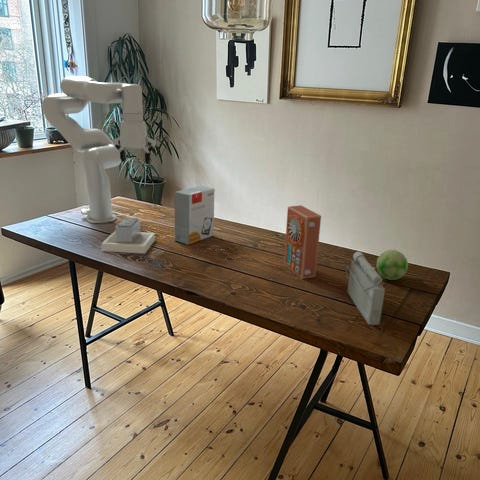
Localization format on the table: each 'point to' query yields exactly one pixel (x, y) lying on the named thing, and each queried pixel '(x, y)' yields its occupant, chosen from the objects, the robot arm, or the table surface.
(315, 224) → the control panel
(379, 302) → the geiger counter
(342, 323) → the table surface
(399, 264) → the decorative ball
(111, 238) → the white shallow square tray
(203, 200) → the hard drive box
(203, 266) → the table surface
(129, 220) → the block
